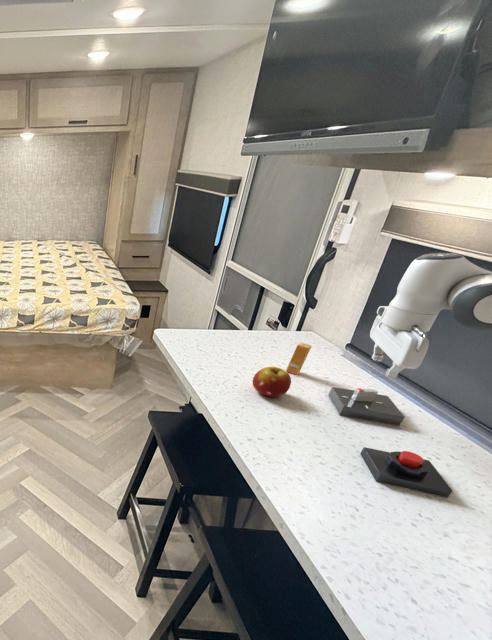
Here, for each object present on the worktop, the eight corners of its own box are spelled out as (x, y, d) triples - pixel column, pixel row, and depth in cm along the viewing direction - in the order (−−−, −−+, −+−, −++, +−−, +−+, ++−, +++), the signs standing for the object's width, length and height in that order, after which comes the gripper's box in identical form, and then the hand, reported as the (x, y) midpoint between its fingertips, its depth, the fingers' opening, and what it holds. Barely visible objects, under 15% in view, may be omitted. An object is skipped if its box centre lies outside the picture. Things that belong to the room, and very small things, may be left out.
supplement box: (297, 375, 129) (308, 348, 124) (285, 371, 132) (296, 344, 127) (300, 372, 131) (312, 345, 126) (288, 368, 133) (299, 341, 129)
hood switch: (424, 467, 92) (433, 454, 90) (447, 498, 84) (457, 484, 82) (359, 453, 96) (367, 440, 94) (375, 482, 88) (384, 468, 86)
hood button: (415, 459, 89) (419, 453, 88) (422, 469, 86) (427, 463, 85) (394, 455, 90) (398, 449, 89) (401, 465, 87) (405, 459, 87)
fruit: (265, 402, 116) (274, 379, 112) (242, 386, 123) (249, 364, 120) (293, 399, 117) (303, 375, 113) (268, 383, 125) (277, 361, 121)
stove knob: (369, 399, 111) (374, 388, 110) (373, 401, 110) (378, 391, 109) (350, 398, 112) (356, 387, 110) (354, 400, 111) (359, 390, 109)
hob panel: (382, 404, 114) (388, 395, 113) (399, 426, 105) (405, 416, 104) (328, 395, 119) (332, 386, 117) (339, 415, 110) (344, 405, 109)
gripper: (446, 337, 89) (416, 389, 95) (406, 307, 105) (383, 354, 112) (410, 333, 91) (383, 384, 97) (376, 304, 107) (355, 350, 114)
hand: (382, 367), depth 105 cm, fingers open, 8 cm apart
